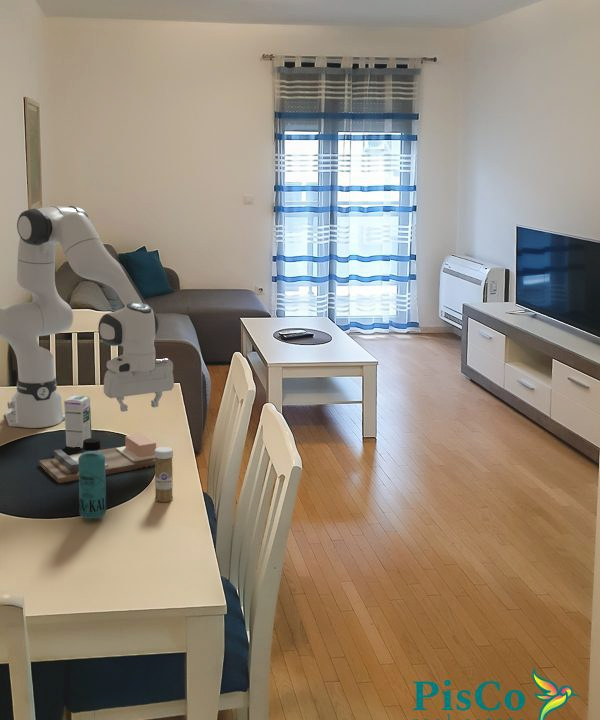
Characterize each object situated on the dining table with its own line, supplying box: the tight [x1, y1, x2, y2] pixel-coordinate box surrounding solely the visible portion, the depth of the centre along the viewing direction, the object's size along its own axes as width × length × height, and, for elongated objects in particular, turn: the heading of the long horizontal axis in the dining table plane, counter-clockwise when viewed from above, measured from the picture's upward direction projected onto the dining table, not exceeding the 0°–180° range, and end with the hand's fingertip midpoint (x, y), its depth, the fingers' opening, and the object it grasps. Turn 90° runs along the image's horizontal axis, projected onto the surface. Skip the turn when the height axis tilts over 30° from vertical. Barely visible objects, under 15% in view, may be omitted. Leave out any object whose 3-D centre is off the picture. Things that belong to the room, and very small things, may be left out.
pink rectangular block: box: [115, 433, 157, 462], centre depth 259 cm, size 12×8×4 cm, turn 34°
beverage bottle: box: [77, 437, 108, 519], centre depth 214 cm, size 6×7×20 cm
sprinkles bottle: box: [154, 446, 174, 503], centre depth 228 cm, size 5×5×14 cm
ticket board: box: [38, 445, 155, 484], centre depth 252 cm, size 16×28×4 cm, turn 124°
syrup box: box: [63, 395, 93, 449], centre depth 269 cm, size 6×6×14 cm
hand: (139, 408), depth 257 cm, fingers open, 8 cm apart
